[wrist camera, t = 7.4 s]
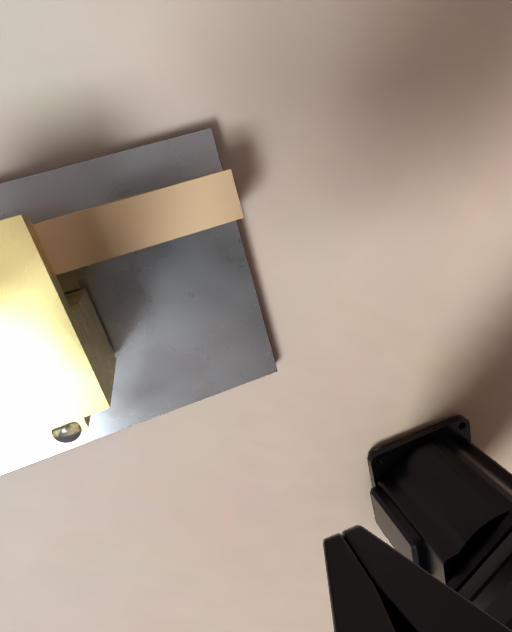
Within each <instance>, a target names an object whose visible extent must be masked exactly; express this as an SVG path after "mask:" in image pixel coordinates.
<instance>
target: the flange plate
mask: <svg viewBox="0 0 512 632" xmlns="http://www.w3.org/2000/svg"><path fill="white" fill-rule="evenodd" d="M219 171H222V166H221V162H220V159H219V155H218V151H217V148H216V144H215V140H214V137H213V133H212V129H211V128H208V129H204V130H201V131H197V132H193V133H189V134H185V135H182V136H178V137H174V138H170V139H167V140H163V141H159V142H155V143H151V144H148V145H144V146H140V147H136V148H133V149H129V150H125V151H121V152H117V153H114V154H110V155H106V156H102V157H98V158H95V159H91V160H87V161H83V162H80V163H76V164H72V165H68V166H64V167H61V168H57V169H53V170H49V171H46V172H42V173H38V174H34V175H30V176H27V177H23V178H19V179H15V180H11V181H8V182H4V183H0V220H4V219H7V218H11V217H14V216H18V215H22V214H26V213H28V215H29V218H30V220H31V222H32V224H35V223H39V222H42V221H46V220H49V219H53V218H56V217H60V216H63V215H67V214H71V213H74V212H78V211H81V210H85V209H88V208H92V207H95V206H99V205H102V204H106V203H109V202H113V201H116V200H120V199H123V198H127V197H131V196H134V195H138V194H141V193H145V192H148V191H152V190H155V189H159V188H162V187H166V186H169V185H173V184H176V183H180V182H183V181H187V180H191V179H194V178H198V177H201V176H205V175H208V174H212V173H215V172H219ZM56 277H57V279H58V281H59V284H60V286H61V288H62V290H63V292H64V295H67V294H70V293H73V292H76V291H80V290H83V289H86V290H87V292H88V295H89V297H90V299H91V302H92V304H93V306H94V309H95V311H96V313H97V315H98V318H99V320H100V322H101V325H102V327H103V329H104V332H105V334H106V336H107V339H108V341H109V343H110V346H111V348H112V350H113V352H114V355H115V357H116V366H115V374H114V382H113V389H112V397H111V405H110V408H108V409H106V410H103V411H100V412H98V413H95V414H92V415H91V417H90V422H89V427H88V428H87V429H84V430H82V432H81V435H80V436H79V438H78V439H76V440H75V441H73V442H70V443H61V442H58V441H57V440H54V441H52V442H48V440H47V438H46V436H45V434H44V433H40V434H37V435H34V436H32V437H29V438H26V439H24V440H21V441H18V442H15V443H13V444H10V445H7V446H4V447H2V448H0V475H2V474H5V473H7V472H10V471H13V470H15V469H18V468H21V467H23V466H26V465H29V464H31V463H34V462H37V461H39V460H42V459H45V458H47V457H50V456H53V455H55V454H58V453H61V452H63V451H66V450H69V449H71V448H74V447H77V446H79V445H82V444H85V443H87V442H90V441H93V440H95V439H98V438H101V437H103V436H106V435H109V434H111V433H114V432H117V431H119V430H122V429H125V428H127V427H130V426H133V425H135V424H138V423H141V422H143V421H146V420H149V419H151V418H154V417H157V416H159V415H162V414H165V413H167V412H170V411H173V410H175V409H178V408H181V407H183V406H186V405H189V404H191V403H194V402H197V401H199V400H202V399H205V398H207V397H210V396H213V395H215V394H218V393H221V392H223V391H226V390H229V389H231V388H234V387H237V386H239V385H242V384H245V383H247V382H250V381H253V380H255V379H258V378H261V377H263V376H266V375H269V374H271V373H274V372H277V367H276V364H275V360H274V356H273V353H272V349H271V345H270V342H269V338H268V334H267V331H266V327H265V323H264V320H263V316H262V312H261V309H260V305H259V301H258V298H257V294H256V290H255V287H254V283H253V279H252V276H251V272H250V268H249V265H248V261H247V258H246V254H245V250H244V247H243V243H242V239H241V236H240V232H239V228H238V225H237V221H236V220H235V221H232V222H229V223H225V224H222V225H219V226H215V227H212V228H209V229H206V230H202V231H199V232H196V233H193V234H189V235H186V236H183V237H179V238H176V239H173V240H170V241H166V242H163V243H160V244H157V245H153V246H150V247H147V248H144V249H140V250H137V251H134V252H130V253H127V254H124V255H121V256H117V257H114V258H111V259H108V260H104V261H101V262H98V263H94V264H91V265H88V266H85V267H81V268H78V269H75V270H72V271H68V272H65V273H62V274H58V275H56Z"/></svg>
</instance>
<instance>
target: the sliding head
mask: <svg viewBox="0 0 512 632" xmlns="http://www.w3.org/2000/svg"><path fill="white" fill-rule="evenodd" d="M115 366H116V357H115V355H114V352H113V350H112V348H111V346H110V343H109V341H108V339H107V336H106V334H105V332H104V329H103V327H102V325H101V322H100V320H99V318H98V315H97V313H96V311H95V309H94V306H93V304H92V302H91V299H90V297H89V295H88V292H87V290H86V289H83V290H80V291H76V292H73V293H70V294H67V295H64V292H63V290H62V288H61V286H60V284H59V281H58V279H57V277H56V275H55V273H54V270H53V268H52V266H51V264H50V262H49V259H48V257H47V255H46V253H45V251H44V248H43V246H42V244H41V242H40V240H39V237H38V235H37V233H36V231H35V229H34V226H33V224H32V222H31V220H30V218H29V215H28V213H26V214H22V215H18V216H14V217H11V218H7V219H4V220H0V448H2V447H4V446H7V445H10V444H13V443H15V442H18V441H21V440H24V439H26V438H29V437H32V436H34V435H37V434H40V433H44V434H45V436H46V438H47V440H48V442H52V441H54V440H57V441H58V442H61V443H70V442H73V441H75V440H76V439H78V438H79V436H80V435H81V432H82V430H84V429H87V428H88V427H89V422H90V417H91V415H92V414H95V413H98V412H100V411H103V410H106V409H108V408H110V405H111V397H112V389H113V382H114V374H115Z"/></svg>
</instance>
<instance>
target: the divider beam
mask: <svg viewBox="0 0 512 632" xmlns="http://www.w3.org/2000/svg"><path fill="white" fill-rule="evenodd" d="M242 218H244V216H243V212H242V209H241V205H240V201H239V197H238V194H237V190H236V186H235V182H234V179H233V175H232V171H231V169H228V170H222V171H219V172H215V173H212V174H208V175H205V176H201V177H198V178H194V179H191V180H187V181H183V182H180V183H176V184H173V185H169V186H166V187H162V188H159V189H155V190H152V191H148V192H145V193H141V194H138V195H134V196H131V197H127V198H123V199H120V200H116V201H113V202H109V203H106V204H102V205H99V206H95V207H92V208H88V209H85V210H81V211H78V212H74V213H71V214H67V215H63V216H60V217H56V218H53V219H49V220H46V221H42V222H39V223H35V224H33V226H34V229H35V231H36V233H37V235H38V237H39V240H40V242H41V244H42V246H43V248H44V251H45V253H46V255H47V257H48V259H49V262H50V264H51V266H52V268H53V270H54V273H55V275H58V274H62V273H65V272H68V271H72V270H75V269H78V268H81V267H85V266H88V265H91V264H94V263H98V262H101V261H104V260H108V259H111V258H114V257H117V256H121V255H124V254H127V253H130V252H134V251H137V250H140V249H144V248H147V247H150V246H153V245H157V244H160V243H163V242H166V241H170V240H173V239H176V238H179V237H183V236H186V235H189V234H193V233H196V232H199V231H202V230H206V229H209V228H212V227H215V226H219V225H222V224H225V223H229V222H232V221H235V220H238V219H242Z"/></svg>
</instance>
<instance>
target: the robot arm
mask: <svg viewBox="0 0 512 632" xmlns="http://www.w3.org/2000/svg"><path fill="white" fill-rule="evenodd" d="M378 458H379V459H378ZM377 459H378V460H377ZM376 460H377V461H376ZM368 465H369V470H370V475H371V480H372V485H373V487H372V488H371V491H370V495H371V500H372V505H373V510H374V515H375V519H376V523H377V524H378V526H379V527H380V529H381V530H382V532H383V533H384V535H385V536H386V537H387V538H388V540H389V541H390V543H391V544H392V546H393V547H394V548H395V549H394V548H392V547H391V546H390V545H388V544H387V543H385V542H384V541H382V540H381V539H379V538H378V537H377V536H375V535H374V534H372V533H371V532H369V531H368V530H367V529H365V528H364V527H362V526H360V525H356V526H354V527H351V528H349V529H347V530H344V531H343V532H342V535H341V534H340V533H337V534H335V535H332V536H330V537H328V538H325V539H324V540H323V547H324V555H325V563H326V571H327V578H328V586H329V594H330V602H331V609H332V617H333V625H334V632H512V474H511V473H510V472H509V471H507V470H506V469H505V468H503V467H502V466H501V465H499V464H498V463H497V462H496V461H494V460H493V459H492V458H490V457H489V456H488V455H487V454H485V453H484V452H483V451H481V450H480V449H479V448H478V447H476V446H475V445H474V444H472V443H471V437H470V425H469V421H468V420H467V419H466V418H465V417H463V416H461V415H458V416H455V417H453V418H450V419H448V420H445V421H443V422H441V423H438V424H436V425H434V426H431V427H429V428H427V429H424V430H422V431H420V432H417V433H415V434H413V435H410V436H408V437H406V438H403V439H401V440H399V441H396V442H394V443H392V444H389V445H387V446H384V447H382V448H380V449H377V450H375V451H373V452H372V453H371V454H370V455H369V456H368Z"/></svg>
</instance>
